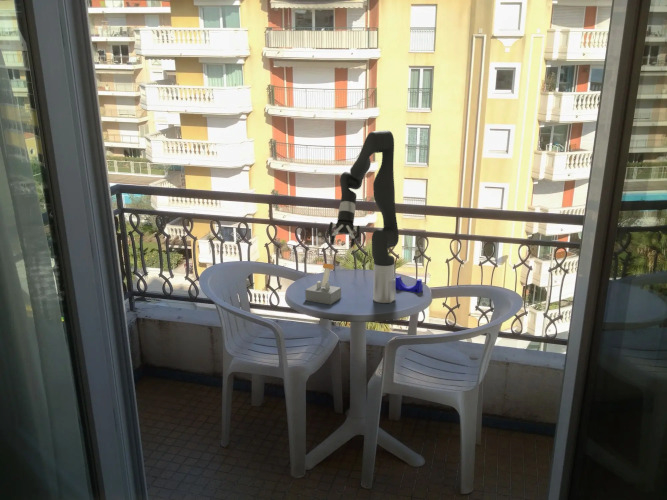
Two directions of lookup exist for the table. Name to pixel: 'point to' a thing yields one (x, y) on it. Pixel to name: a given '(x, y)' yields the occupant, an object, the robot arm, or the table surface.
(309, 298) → the block
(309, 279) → the table surface
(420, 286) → the cable clip
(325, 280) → the lever
